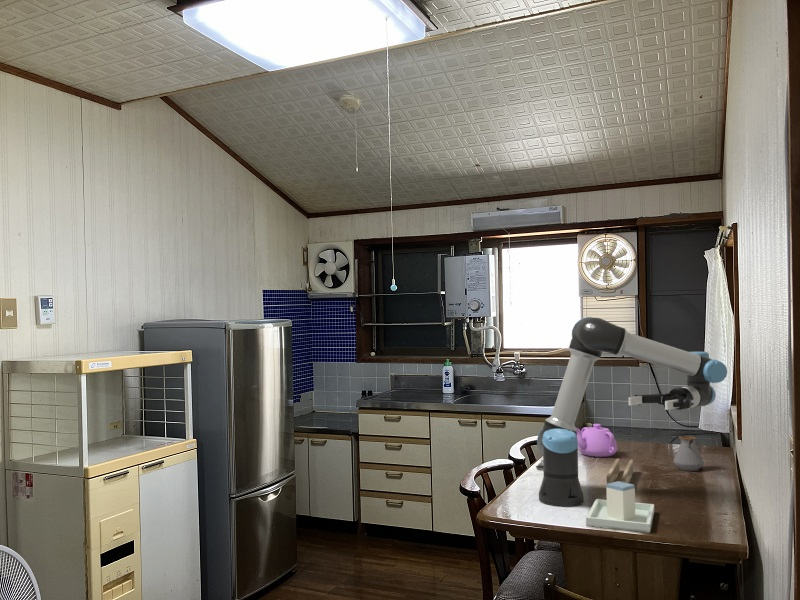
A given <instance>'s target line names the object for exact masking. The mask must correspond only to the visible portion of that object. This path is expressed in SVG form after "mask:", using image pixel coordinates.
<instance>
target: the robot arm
mask: <svg viewBox="0 0 800 600" xmlns="http://www.w3.org/2000/svg"><path fill="white" fill-rule="evenodd" d="M568 350H569V352H570V357H569V359H568V364H567V366H566V369H565V372H564V376H563V378H562V381H561V385H560V388H559V391H558V395H557V398H556V400H555V403H554V406H553V410H552V412H551V415H550V416H549V417H547V418H545V421H544V423H543V426H542V429H541V430H540V431H539V434H538V435H537V438H536V445H537V448H538V450H539V451H538V452H539V453H540V454H541V456H542V460H543V470H542V471H543V478H542V481H541V484H540V488H539V490H538V500H539V502H540V503H543V504H546V505H551V506H557V507H573V506H580V505H583V504H584V503H585V494H584V491H583V487H582V485H581V482H580V478H579V452H578V451H579V449H578V440H577V432H576V431H577V429H576V428H577V427H576V425H575V424H576V420H577V417H578V414H579V410H580V407H581V404H582V402H583V399H584V395H585V393H586V389H587V386H588V383H589V381H590V377H591V374H592V371H593V367H594V365H595V362H597V361H598V360H600V359H601V356H602V354H603V353H609V354H612V355H615V356H619V355H620V354H622V355H625V356H628V357H630V358H634V359H637V360H641V361H644V362H647V363H650V364H653V365H656V366H659V367H663V368H666V369H669V370H672V371H674V372H677V373H681V374H684V375H686V386H681V387H675V388H672V389H671V390H669V392H668V393H667V392H666V393H657V394H656V393H655V394H654V393H652V394H634V396H630V397H627V398H628V406H637V405H638V406H641V405H642V404H659V405H664V410H665V411H666V410H667V411H670V410H674V409H675V410H679V411H680V410H690V409H691V408H699V407H705V406H708V405H711V404H712V403H713V402H714V401H715V399H716V397H717V394H716V391H715V389H714V387H712V386H711V384H718V383H721V382H723V381H724V380H725V379H726V377H727V375H728V369H727V366H726V364H725V363H723V362H722V361H720V360H717V359H712V358H710V354H709V352H706V351H686V350H684V349H681V348H677V347H675V346H671V345H668V344H665V343H662V342H658V341H656V340H652V339H649V338H646V337H643V336H640V335H637V334H634V333H630V332H629V331H628V330H627V329H626V328H625V327H621V326H618V325H616V324H614V323H612V322H609V321H607V320H606V319H603V318H600V317H592V316H588V317H587V316H586V317H582V318H581V319H579V320H578V321H577V322H576V323H575V324H574V325H573V328H572V330H571V339H570V342H569V346H568Z"/></svg>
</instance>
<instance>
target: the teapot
mask: <svg viewBox="0 0 800 600" xmlns="http://www.w3.org/2000/svg"><path fill="white" fill-rule="evenodd" d="M576 429H577V431H576V435H577V440H578V451H579V452H581V454H582V455H585V456H589V457H594V456H595V457H594V458H602V457H612V456H614V455H615V454H616V453H617V451H618V443H617V441H616V438H615V436H614V434H613V433H612V432H611V430H610V429H609V428H608V427H607V428H606V427H602V424H600V423H592V426H591V427H588V426H585V427H582V428H581V429H580V428H578V427H576Z"/></svg>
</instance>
